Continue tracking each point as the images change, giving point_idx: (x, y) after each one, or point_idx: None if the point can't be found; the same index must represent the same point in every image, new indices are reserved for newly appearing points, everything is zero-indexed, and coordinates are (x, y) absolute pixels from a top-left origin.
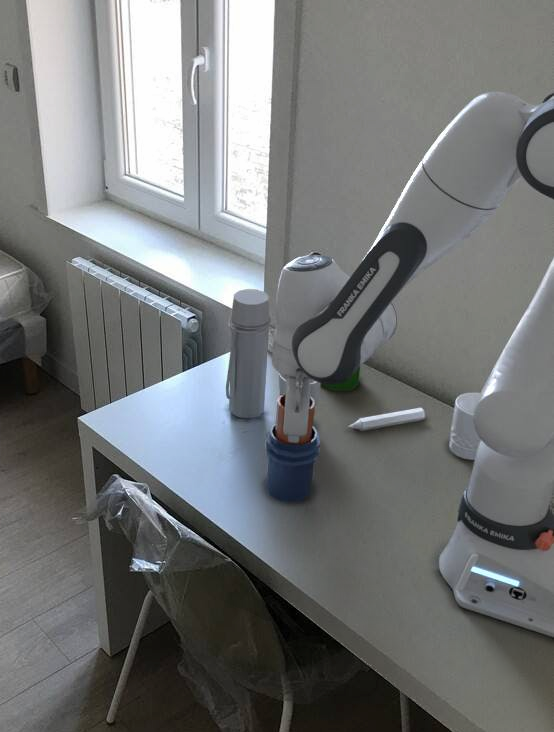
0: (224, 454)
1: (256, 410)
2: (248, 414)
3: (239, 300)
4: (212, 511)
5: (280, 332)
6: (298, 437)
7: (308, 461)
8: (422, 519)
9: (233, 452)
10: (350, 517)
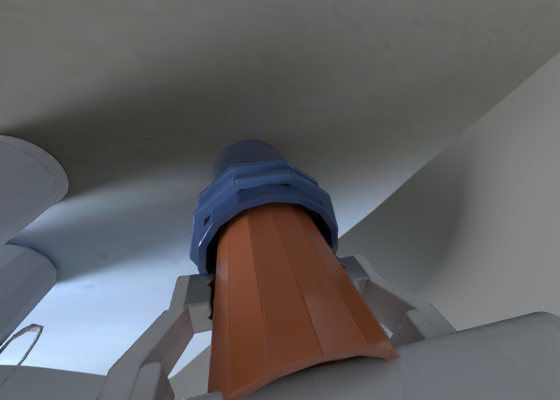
0: (183, 268)
1: (22, 262)
2: (45, 268)
3: None
4: None
5: None
6: (371, 268)
7: (318, 186)
8: None
9: (174, 259)
10: (323, 66)
